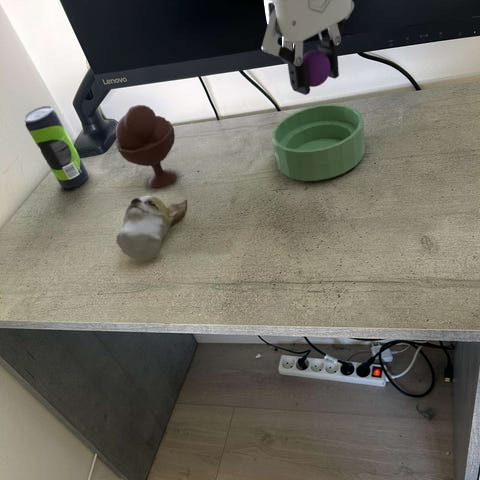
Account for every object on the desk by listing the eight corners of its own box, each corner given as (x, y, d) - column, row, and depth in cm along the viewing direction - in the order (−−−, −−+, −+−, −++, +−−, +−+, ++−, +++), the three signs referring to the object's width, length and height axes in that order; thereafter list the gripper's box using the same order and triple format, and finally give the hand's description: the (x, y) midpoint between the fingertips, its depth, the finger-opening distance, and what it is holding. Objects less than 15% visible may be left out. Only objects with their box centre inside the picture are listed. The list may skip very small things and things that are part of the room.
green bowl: (326, 127, 93) (322, 96, 89) (383, 152, 83) (383, 118, 79) (262, 164, 90) (255, 134, 86) (314, 194, 80) (309, 162, 76)
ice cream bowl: (196, 162, 96) (170, 86, 85) (176, 197, 89) (146, 119, 79) (149, 165, 100) (119, 92, 89) (127, 198, 93) (91, 124, 82)
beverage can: (93, 170, 104) (57, 102, 93) (83, 187, 100) (45, 118, 89) (67, 175, 106) (29, 108, 95) (57, 191, 102) (16, 124, 91)
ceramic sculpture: (87, 227, 73) (122, 175, 83) (110, 271, 79) (140, 218, 89) (152, 222, 70) (180, 169, 80) (171, 269, 76) (195, 213, 86)
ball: (317, 74, 69) (314, 41, 66) (338, 81, 66) (335, 47, 63) (293, 88, 68) (288, 55, 65) (313, 95, 65) (309, 61, 62)
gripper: (254, -53, 49) (284, 118, 63) (377, -110, 53) (381, 63, 67) (216, -55, 54) (251, 104, 68) (332, -107, 58) (343, 53, 71)
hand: (315, 82), depth 67 cm, fingers closed on ball, 4 cm apart
